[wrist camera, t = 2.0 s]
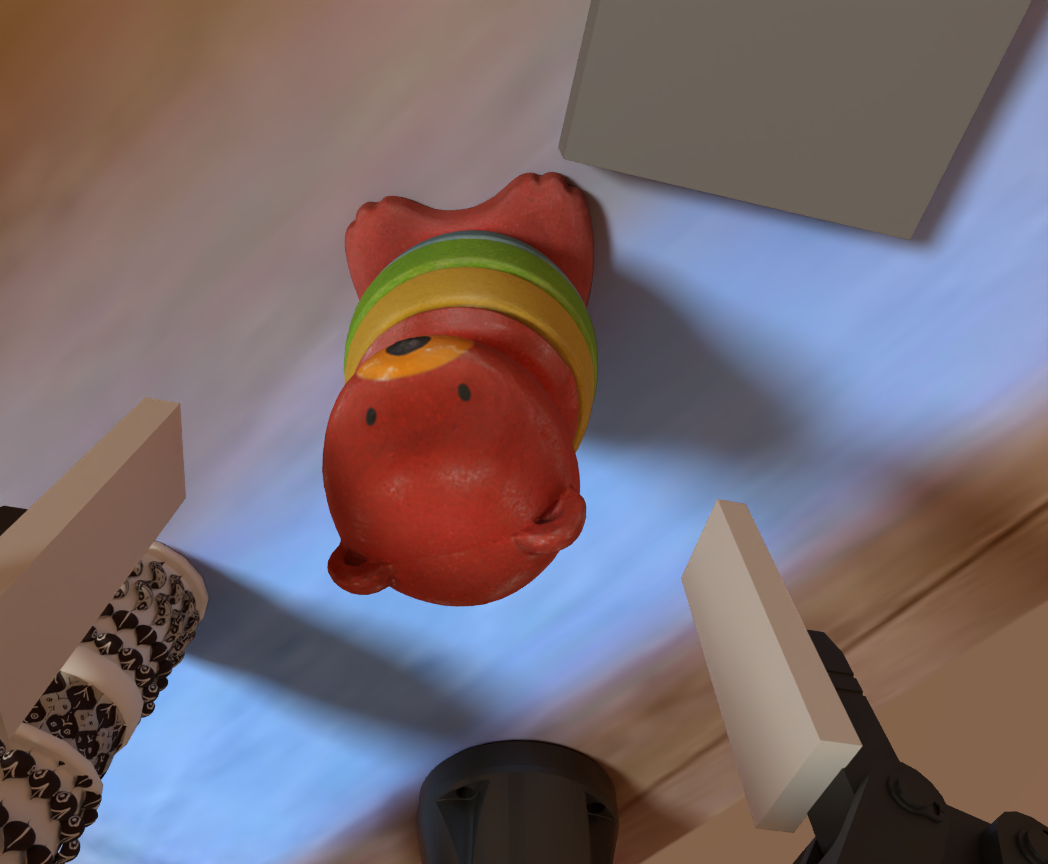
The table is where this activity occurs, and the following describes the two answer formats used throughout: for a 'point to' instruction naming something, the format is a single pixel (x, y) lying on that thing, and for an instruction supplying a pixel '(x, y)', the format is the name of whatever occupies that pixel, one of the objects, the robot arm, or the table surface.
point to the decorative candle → (95, 709)
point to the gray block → (788, 98)
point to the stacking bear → (463, 394)
